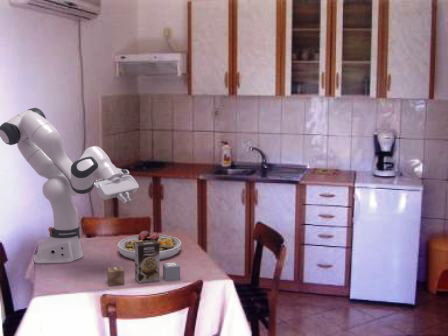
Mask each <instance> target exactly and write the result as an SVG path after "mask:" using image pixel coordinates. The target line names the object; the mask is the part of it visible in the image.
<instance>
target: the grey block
mask: <svg viewBox="0 0 448 336" xmlns="http://www.w3.org/2000/svg"><path fill="white" fill-rule="evenodd" d="M162 278H163V279H164V281H165V282H173V281H181V265H180V264H179V263H178V262H177V261H174V262H173V261H172V262H163V263H162Z"/></svg>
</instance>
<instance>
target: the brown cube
mask: <svg viewBox="0 0 448 336" xmlns="http://www.w3.org/2000/svg"><path fill="white" fill-rule="evenodd" d="M106 271H107V273H106V274H107V276H106V277H107V283H108V286H109V287H115V286H125V269H124V268H123V266H122V265H119V266H109V267H107V270H106Z"/></svg>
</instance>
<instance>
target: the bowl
mask: <svg viewBox="0 0 448 336" xmlns="http://www.w3.org/2000/svg"><path fill="white" fill-rule="evenodd" d="M150 240H156V241H157V242H158V243H159V245H160V246H159V252H160V261H161V260H165V259H169V258H171V257H174V256H175V255H177V254H178V253H179V251H180V250H181V248H182V241H181V240H180V239H179V238H177V237H175V236H170V235H165V234H159V233H157V232H156V231H154V232H152V233H151V234H150V232H149V231H148V230H142V231H141V232H139V233H138V235H134V236H129V237H126V238H124V239H121V240H120V241H119V242H118V243H117V249H118V252H119V253H120V254H121V255H122V256H124V257H125V258H128V259H130V260H134V261H135V242H140V241H150Z"/></svg>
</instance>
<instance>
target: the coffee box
mask: <svg viewBox="0 0 448 336" xmlns="http://www.w3.org/2000/svg"><path fill="white" fill-rule="evenodd" d="M159 246H160V245H159V243H158V242H157V241H156V240H150V241H140V242H135V260H134V279H135V281H137V283H138V284H144V283H152V282H158V281H159V282H160V278H161V277H160V273H161V272H160V267H161V266H160V263H161V262H160V261H161V260H160V252H159Z"/></svg>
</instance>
